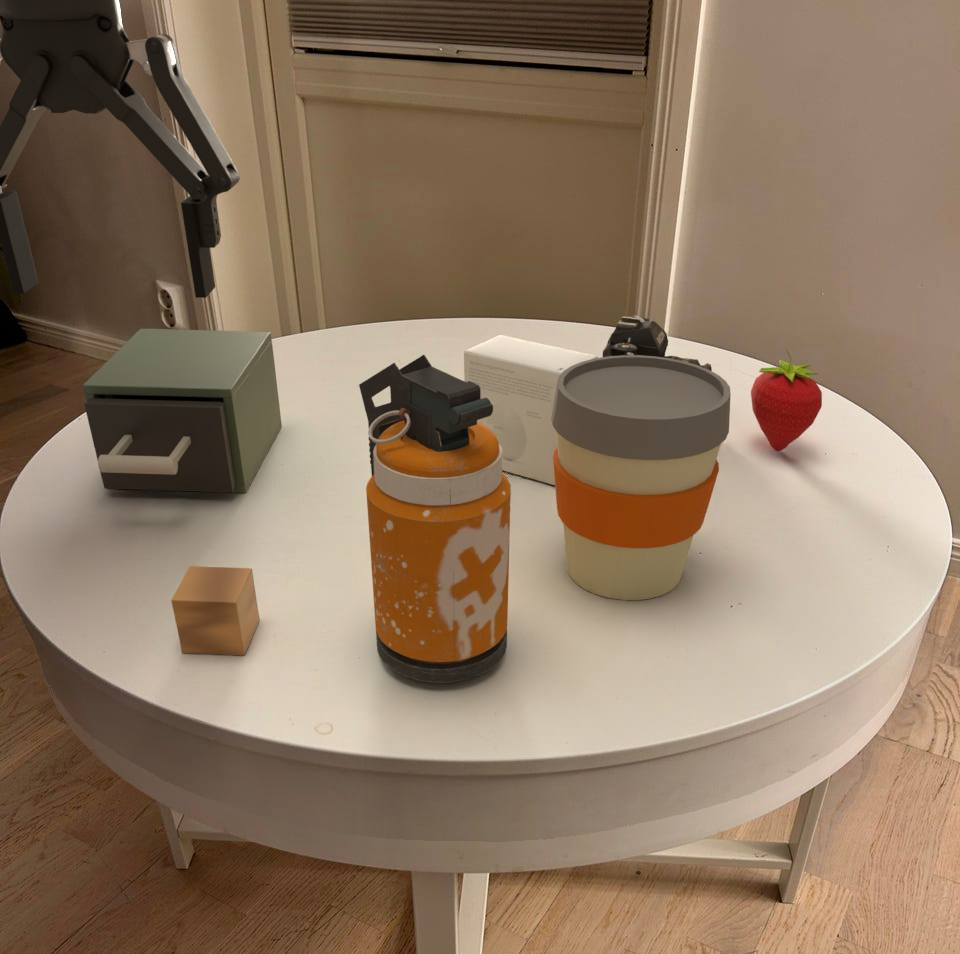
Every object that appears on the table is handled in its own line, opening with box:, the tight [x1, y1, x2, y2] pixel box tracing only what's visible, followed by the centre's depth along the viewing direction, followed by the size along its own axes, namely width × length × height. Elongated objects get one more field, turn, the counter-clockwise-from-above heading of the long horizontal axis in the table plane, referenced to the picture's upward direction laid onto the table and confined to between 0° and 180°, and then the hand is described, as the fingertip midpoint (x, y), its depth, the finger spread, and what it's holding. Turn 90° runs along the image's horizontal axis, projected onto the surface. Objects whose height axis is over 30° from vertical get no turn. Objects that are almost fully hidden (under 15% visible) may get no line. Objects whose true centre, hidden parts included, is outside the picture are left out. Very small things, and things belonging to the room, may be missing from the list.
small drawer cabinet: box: [82, 328, 283, 494], centre depth 92 cm, size 15×13×10 cm
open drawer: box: [83, 394, 236, 493], centre depth 87 cm, size 19×11×8 cm, turn 177°
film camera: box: [602, 315, 713, 372], centre depth 99 cm, size 18×12×10 cm
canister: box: [358, 354, 512, 684], centre depth 64 cm, size 9×11×20 cm
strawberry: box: [750, 348, 823, 452], centre depth 93 cm, size 6×8×10 cm
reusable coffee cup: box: [551, 355, 731, 601], centre depth 74 cm, size 13×13×15 cm
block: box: [170, 565, 261, 656], centre depth 69 cm, size 4×4×4 cm
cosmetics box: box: [463, 334, 598, 486], centre depth 91 cm, size 10×6×10 cm, turn 57°
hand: (115, 290), depth 74 cm, fingers open, 13 cm apart
